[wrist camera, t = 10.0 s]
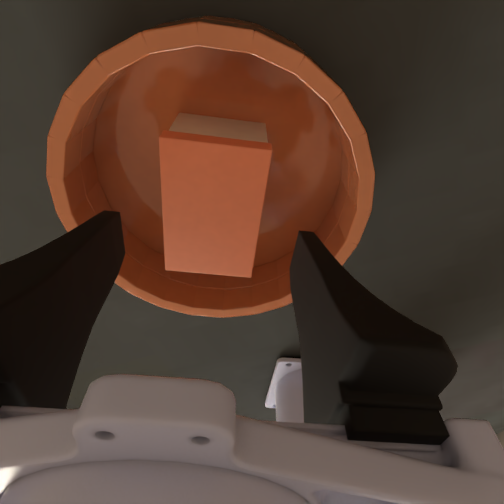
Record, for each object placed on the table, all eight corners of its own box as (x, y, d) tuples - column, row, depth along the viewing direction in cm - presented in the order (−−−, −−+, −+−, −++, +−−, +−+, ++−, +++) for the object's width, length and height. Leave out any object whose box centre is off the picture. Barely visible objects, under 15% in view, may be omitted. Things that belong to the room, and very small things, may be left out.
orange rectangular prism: (268, 119, 16) (272, 150, 13) (251, 233, 20) (251, 278, 17) (176, 107, 16) (158, 136, 13) (178, 226, 20) (164, 270, 17)
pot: (394, 42, 15) (433, 56, 12) (316, 281, 23) (326, 326, 20) (54, -9, 14) (-5, -9, 10) (105, 262, 22) (81, 306, 19)
